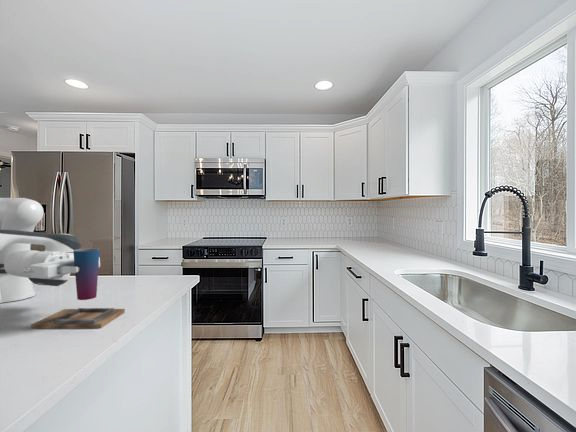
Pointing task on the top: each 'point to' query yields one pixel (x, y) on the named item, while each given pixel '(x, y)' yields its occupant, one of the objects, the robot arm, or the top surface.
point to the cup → (86, 273)
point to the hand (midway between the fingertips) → (89, 267)
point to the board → (79, 318)
